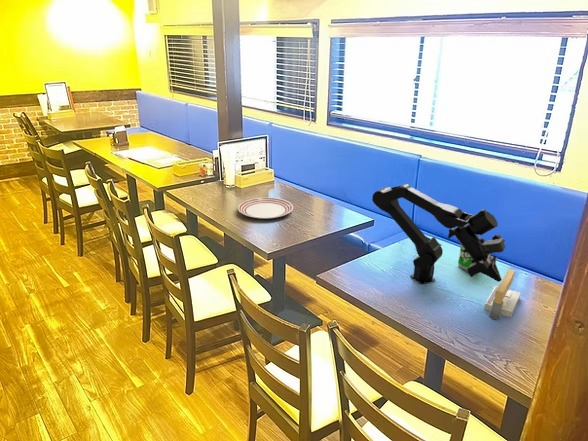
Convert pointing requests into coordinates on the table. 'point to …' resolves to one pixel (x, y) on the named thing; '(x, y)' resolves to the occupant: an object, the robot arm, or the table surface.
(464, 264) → the soda can
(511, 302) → the white flat block
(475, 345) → the table surface
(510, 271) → the bar
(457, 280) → the table surface
